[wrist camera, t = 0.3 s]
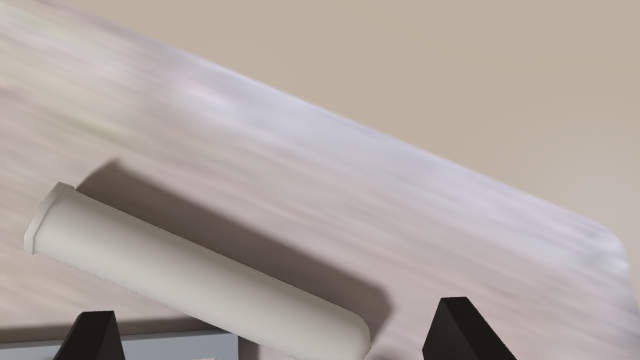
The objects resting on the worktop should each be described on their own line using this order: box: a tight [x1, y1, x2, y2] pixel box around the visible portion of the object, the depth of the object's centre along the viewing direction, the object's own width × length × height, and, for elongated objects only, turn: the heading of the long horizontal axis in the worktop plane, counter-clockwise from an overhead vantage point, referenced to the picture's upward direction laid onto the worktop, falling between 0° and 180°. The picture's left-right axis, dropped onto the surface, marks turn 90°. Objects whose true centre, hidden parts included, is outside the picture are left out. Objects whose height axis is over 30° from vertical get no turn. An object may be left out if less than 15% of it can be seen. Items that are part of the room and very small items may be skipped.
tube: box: [24, 182, 371, 360], centre depth 37 cm, size 5×5×25 cm
